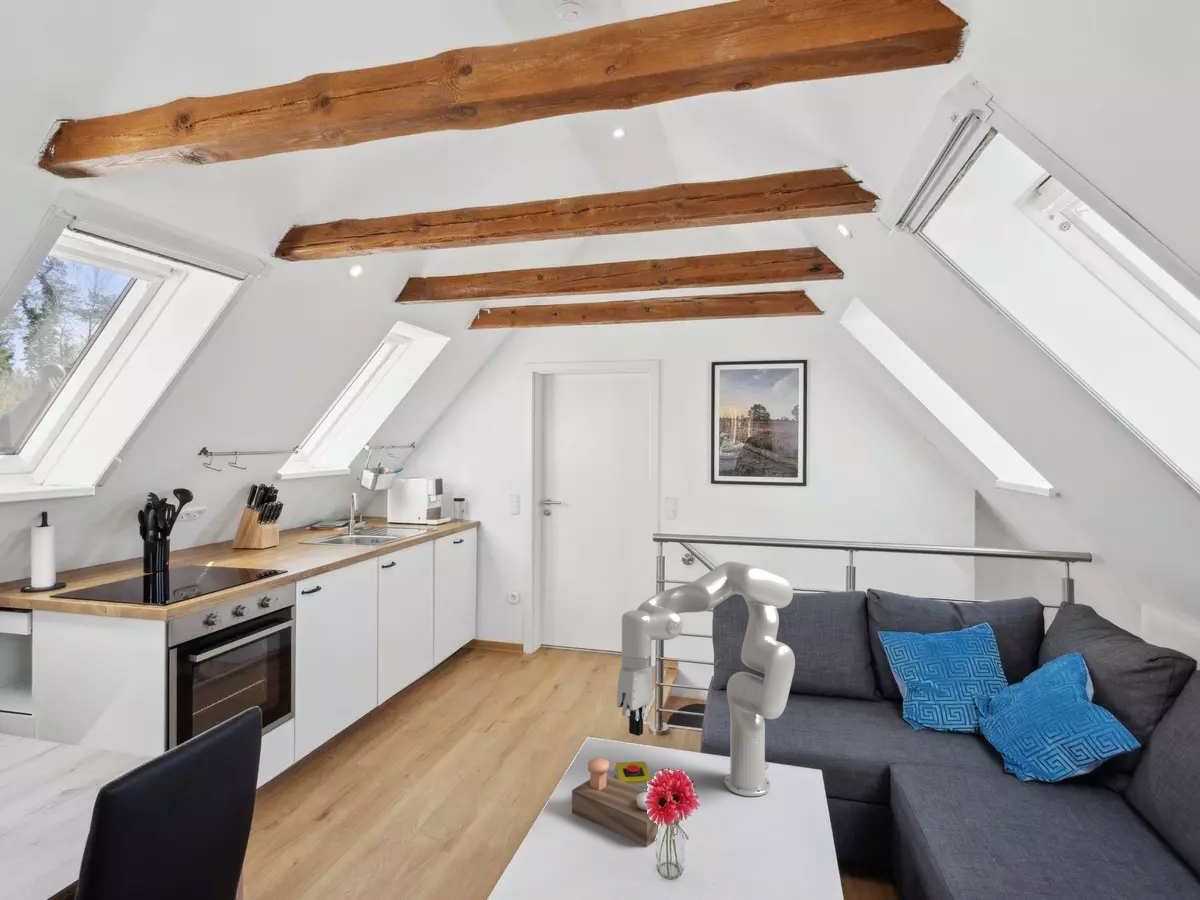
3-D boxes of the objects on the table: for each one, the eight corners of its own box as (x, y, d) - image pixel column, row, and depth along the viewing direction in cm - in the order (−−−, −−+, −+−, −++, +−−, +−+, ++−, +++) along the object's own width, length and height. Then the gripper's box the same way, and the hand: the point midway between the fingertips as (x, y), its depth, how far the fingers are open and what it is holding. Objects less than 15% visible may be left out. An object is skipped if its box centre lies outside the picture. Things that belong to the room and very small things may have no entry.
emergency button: (620, 779, 187) (613, 755, 202) (620, 795, 187) (613, 769, 202) (653, 778, 188) (644, 753, 203) (653, 793, 188) (644, 768, 203)
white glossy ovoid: (645, 819, 173) (645, 789, 173) (663, 827, 169) (663, 797, 169) (632, 829, 169) (632, 798, 169) (650, 837, 165) (650, 806, 165)
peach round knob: (596, 784, 183) (596, 756, 183) (613, 790, 179) (613, 762, 179) (583, 792, 179) (583, 763, 179) (599, 799, 175) (599, 770, 175)
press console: (600, 794, 186) (600, 772, 186) (674, 825, 171) (674, 801, 171) (571, 812, 177) (571, 789, 177) (647, 847, 162) (647, 822, 162)
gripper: (640, 651, 179) (640, 720, 179) (606, 665, 167) (606, 739, 167) (664, 656, 175) (664, 727, 175) (631, 671, 163) (631, 747, 163)
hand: (636, 733), depth 171 cm, fingers closed
